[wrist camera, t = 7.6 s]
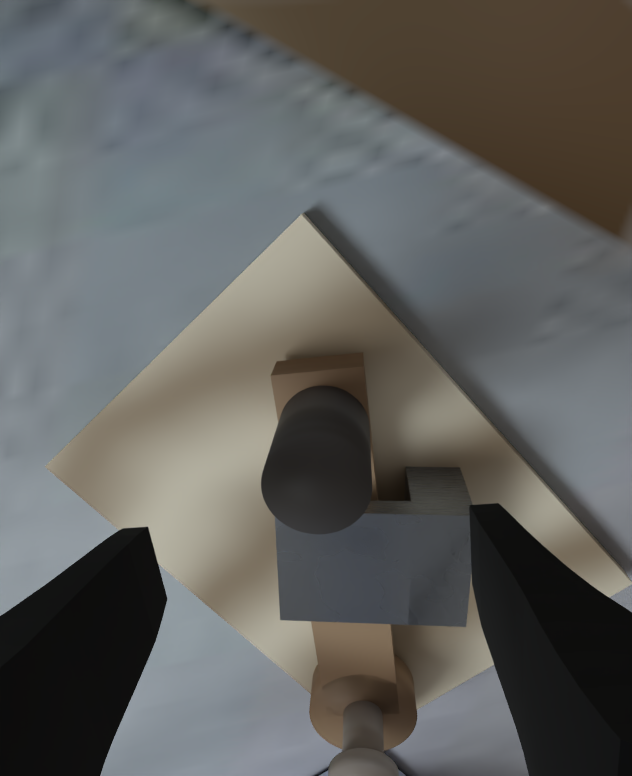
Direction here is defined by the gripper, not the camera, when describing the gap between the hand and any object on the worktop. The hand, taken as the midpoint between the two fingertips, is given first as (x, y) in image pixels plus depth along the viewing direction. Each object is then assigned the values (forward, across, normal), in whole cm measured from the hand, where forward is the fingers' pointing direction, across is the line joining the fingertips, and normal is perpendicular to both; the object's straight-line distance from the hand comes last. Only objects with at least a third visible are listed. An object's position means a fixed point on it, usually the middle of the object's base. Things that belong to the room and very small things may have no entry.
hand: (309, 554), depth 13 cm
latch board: (+9, 0, +5) cm, 11 cm away
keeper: (+9, -1, +5) cm, 11 cm away
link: (+8, 0, +7) cm, 11 cm away
